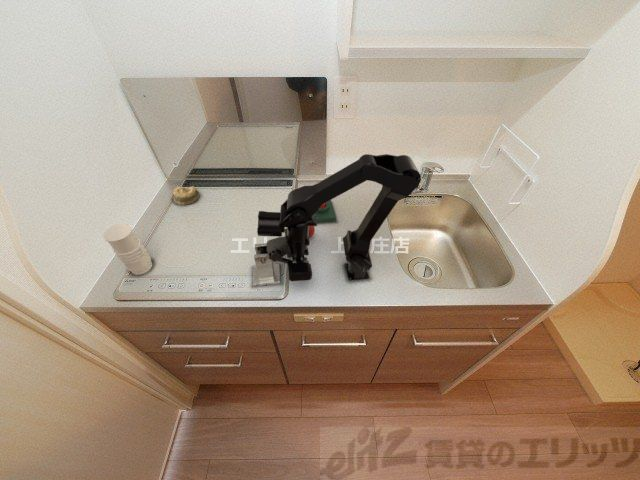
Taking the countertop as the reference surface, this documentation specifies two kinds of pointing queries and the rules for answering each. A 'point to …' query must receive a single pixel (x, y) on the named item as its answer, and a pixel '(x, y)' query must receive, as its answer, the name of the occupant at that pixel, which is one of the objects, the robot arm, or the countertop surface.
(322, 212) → the control box
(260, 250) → the lever
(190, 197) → the cake
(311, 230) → the onion
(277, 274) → the bracket
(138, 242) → the candle
